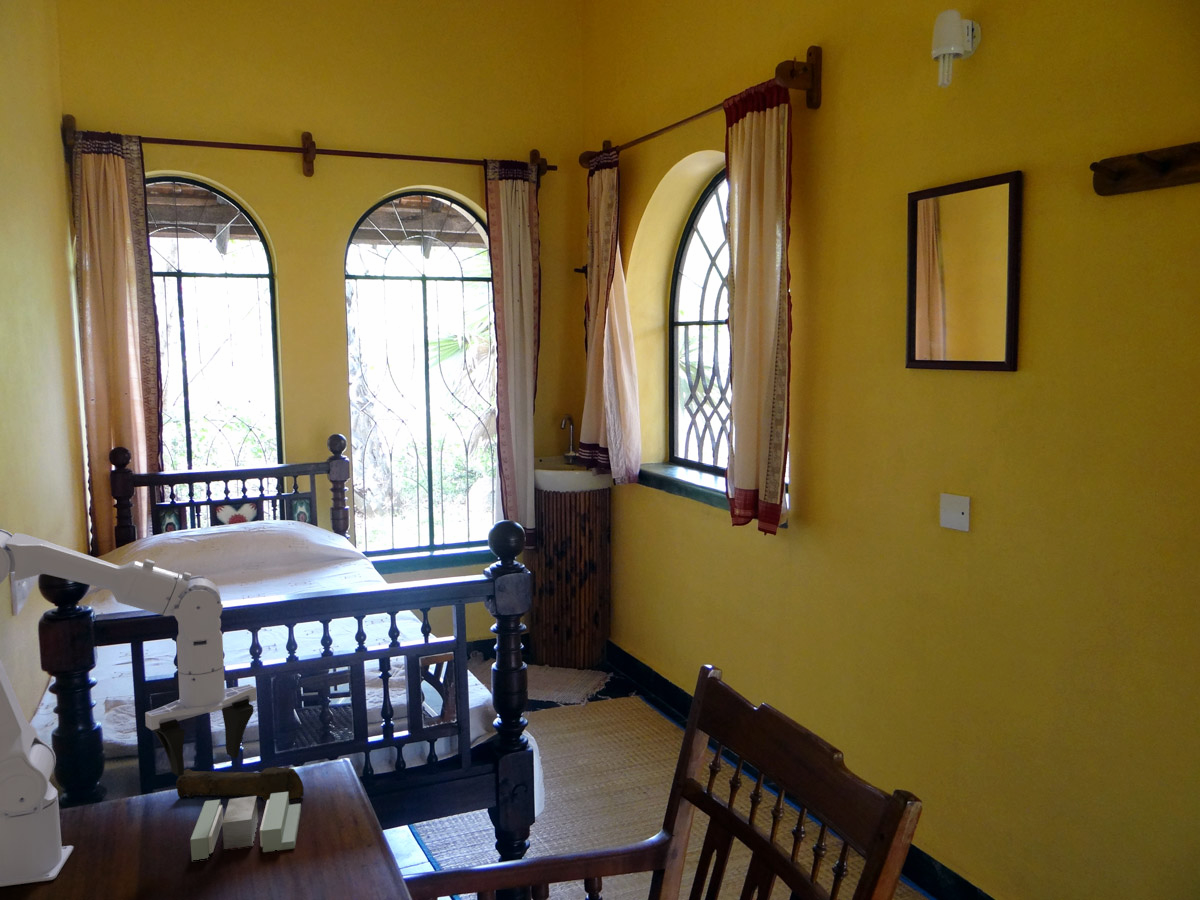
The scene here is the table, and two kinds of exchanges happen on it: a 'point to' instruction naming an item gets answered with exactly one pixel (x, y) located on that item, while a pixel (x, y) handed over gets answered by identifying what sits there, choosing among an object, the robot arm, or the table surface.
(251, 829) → the block
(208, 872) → the table surface
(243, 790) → the brown wooden log
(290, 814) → the pale green bar
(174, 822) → the table surface
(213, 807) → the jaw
